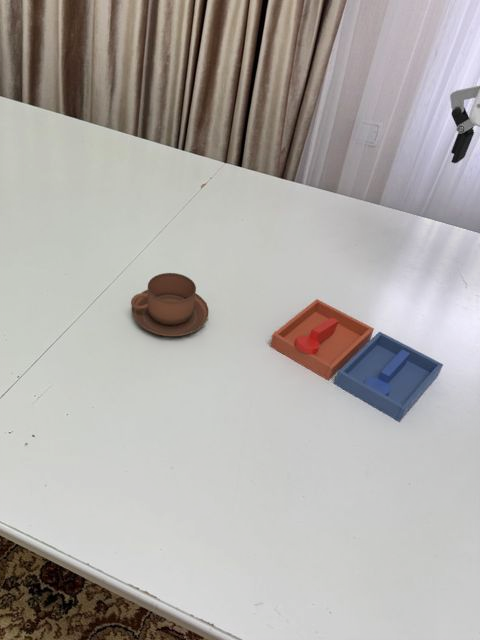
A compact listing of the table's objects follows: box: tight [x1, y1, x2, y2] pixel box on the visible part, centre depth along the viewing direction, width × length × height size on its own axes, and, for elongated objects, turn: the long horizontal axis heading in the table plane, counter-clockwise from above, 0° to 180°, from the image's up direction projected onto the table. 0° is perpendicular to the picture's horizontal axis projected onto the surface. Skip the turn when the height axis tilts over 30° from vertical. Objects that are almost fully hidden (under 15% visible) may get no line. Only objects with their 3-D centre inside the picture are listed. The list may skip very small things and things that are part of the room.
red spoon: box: [294, 317, 339, 354], centre depth 93 cm, size 10×4×2 cm, turn 140°
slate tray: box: [333, 331, 444, 422], centre depth 90 cm, size 10×13×2 cm
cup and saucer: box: [130, 272, 210, 337], centre depth 96 cm, size 12×12×6 cm
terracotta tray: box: [269, 298, 375, 381], centre depth 95 cm, size 10×13×2 cm
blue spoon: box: [365, 349, 410, 396], centre depth 89 cm, size 10×4×2 cm, turn 139°
